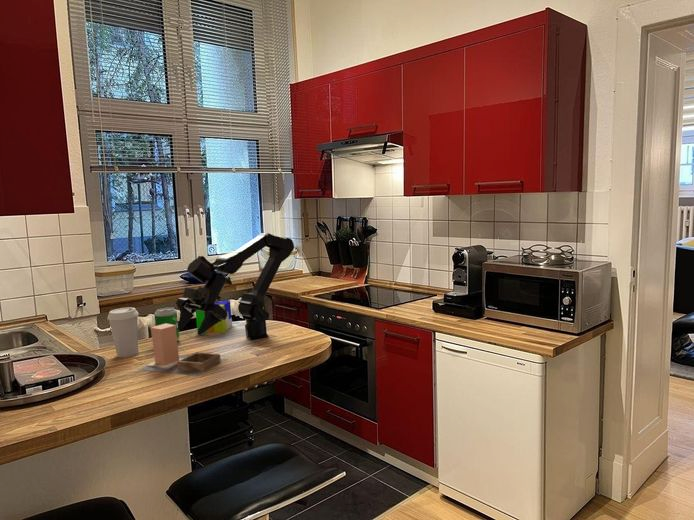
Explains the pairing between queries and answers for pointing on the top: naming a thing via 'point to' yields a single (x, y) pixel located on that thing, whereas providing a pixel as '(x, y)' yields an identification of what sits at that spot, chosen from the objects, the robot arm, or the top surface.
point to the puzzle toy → (220, 326)
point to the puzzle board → (188, 364)
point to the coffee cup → (124, 331)
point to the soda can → (167, 317)
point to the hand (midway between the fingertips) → (188, 332)
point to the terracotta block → (165, 344)
